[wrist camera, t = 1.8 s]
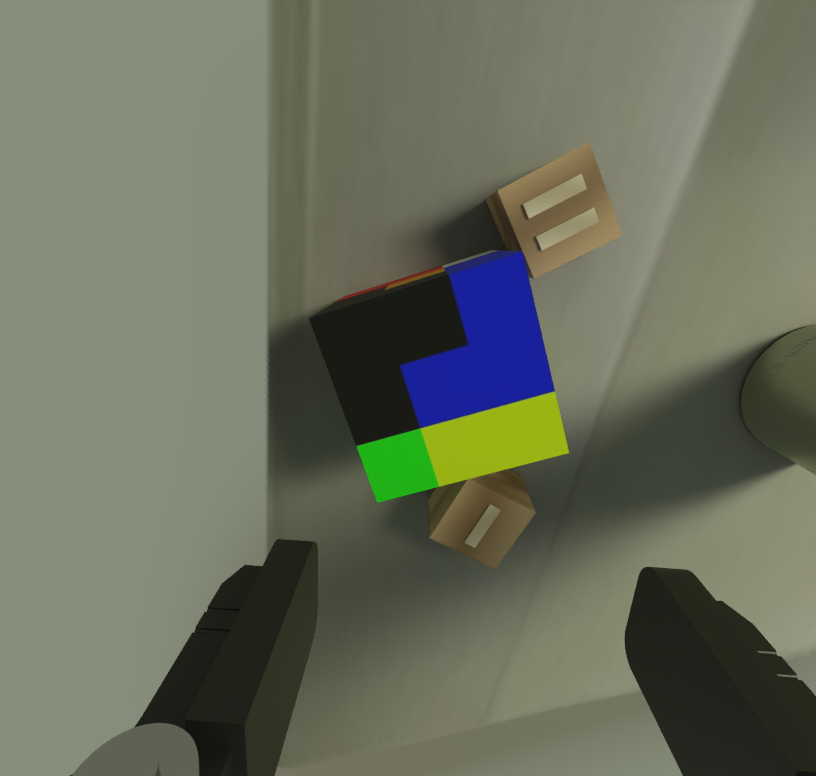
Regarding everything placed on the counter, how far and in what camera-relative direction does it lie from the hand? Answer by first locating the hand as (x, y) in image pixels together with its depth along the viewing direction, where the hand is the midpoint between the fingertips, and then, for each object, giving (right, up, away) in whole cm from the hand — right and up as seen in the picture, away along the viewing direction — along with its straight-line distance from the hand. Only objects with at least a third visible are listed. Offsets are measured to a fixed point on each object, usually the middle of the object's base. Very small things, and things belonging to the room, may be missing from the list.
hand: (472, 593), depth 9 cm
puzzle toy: (+1, +7, +23) cm, 24 cm away
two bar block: (+7, +15, +20) cm, 26 cm away
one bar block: (+4, -3, +26) cm, 26 cm away
